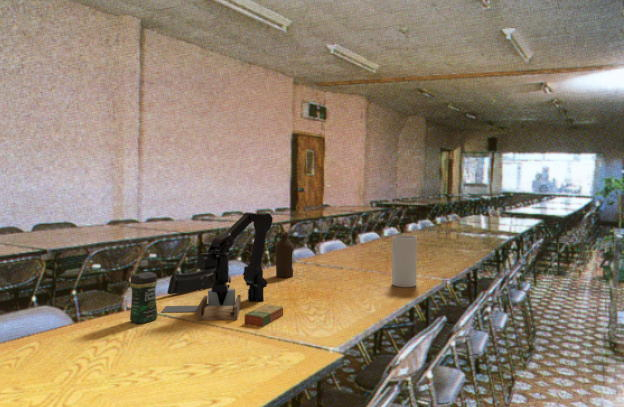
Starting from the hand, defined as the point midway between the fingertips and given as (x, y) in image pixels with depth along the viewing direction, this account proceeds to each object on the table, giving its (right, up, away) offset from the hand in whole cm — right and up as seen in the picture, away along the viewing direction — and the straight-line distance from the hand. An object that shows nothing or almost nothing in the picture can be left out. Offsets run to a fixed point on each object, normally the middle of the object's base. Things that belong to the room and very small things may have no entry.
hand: (221, 303), depth 198 cm
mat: (-16, -2, -1) cm, 16 cm away
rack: (+1, -2, -6) cm, 7 cm away
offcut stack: (+1, -3, -11) cm, 11 cm away
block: (0, -2, 0) cm, 2 cm away
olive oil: (+23, +1, +66) cm, 69 cm away
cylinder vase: (+86, 0, +46) cm, 97 cm away
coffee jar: (-27, -3, -17) cm, 32 cm away
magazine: (-19, -1, +32) cm, 37 cm away
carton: (+19, -4, -15) cm, 25 cm away
